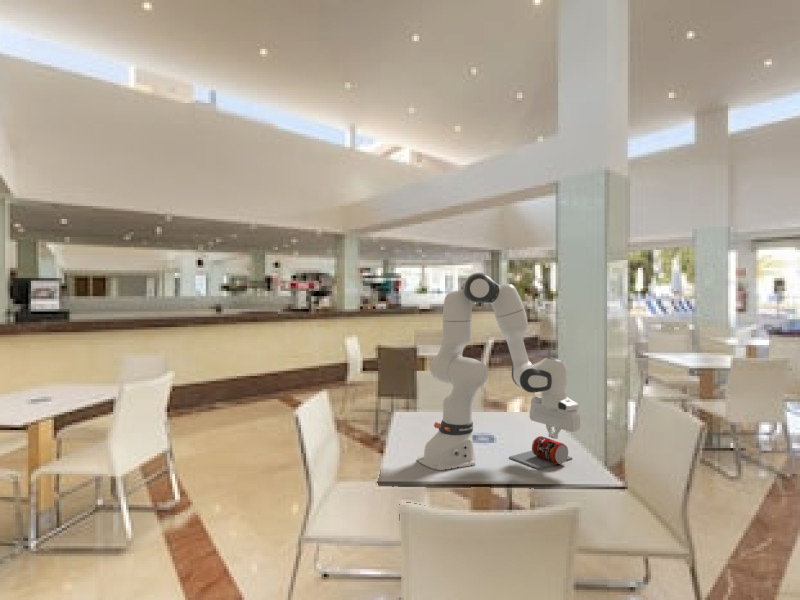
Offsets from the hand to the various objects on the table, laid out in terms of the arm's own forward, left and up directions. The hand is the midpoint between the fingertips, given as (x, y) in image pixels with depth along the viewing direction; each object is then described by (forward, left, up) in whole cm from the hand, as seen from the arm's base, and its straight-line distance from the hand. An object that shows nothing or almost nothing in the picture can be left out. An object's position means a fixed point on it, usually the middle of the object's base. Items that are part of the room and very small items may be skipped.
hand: (553, 437), depth 175 cm
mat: (0, +6, -10) cm, 11 cm away
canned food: (0, -4, -5) cm, 6 cm away
